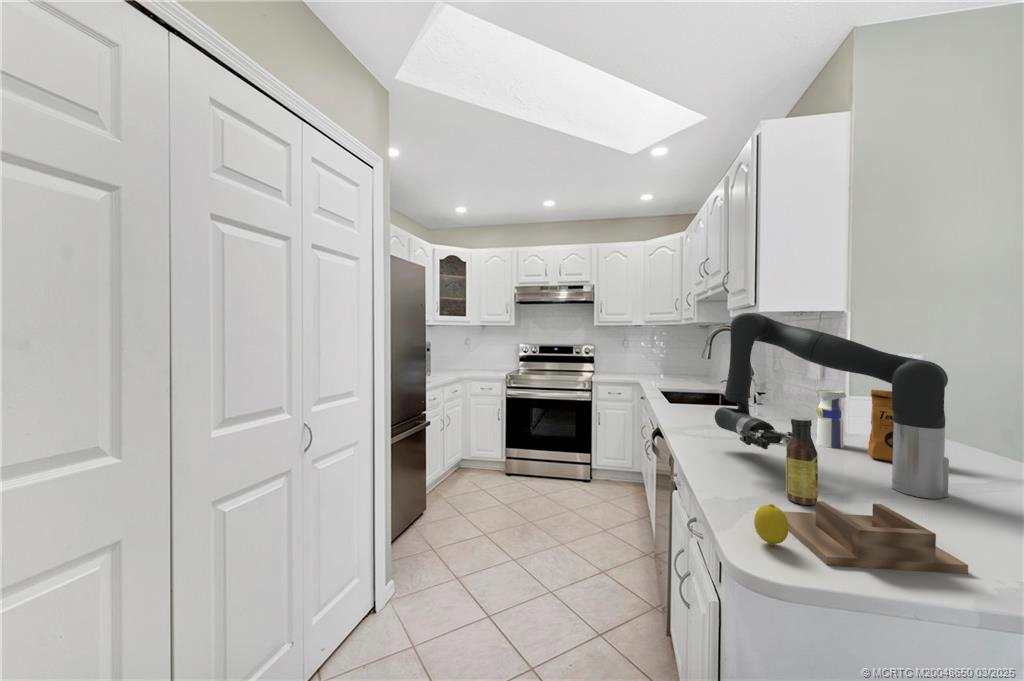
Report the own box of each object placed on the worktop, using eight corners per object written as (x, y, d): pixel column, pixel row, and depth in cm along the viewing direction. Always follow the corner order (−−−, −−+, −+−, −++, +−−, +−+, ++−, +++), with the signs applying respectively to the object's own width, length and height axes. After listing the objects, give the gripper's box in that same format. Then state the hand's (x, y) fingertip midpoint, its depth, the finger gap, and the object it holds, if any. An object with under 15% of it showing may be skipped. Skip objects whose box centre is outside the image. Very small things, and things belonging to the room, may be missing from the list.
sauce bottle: (823, 507, 94) (824, 422, 93) (793, 505, 95) (794, 421, 95) (808, 496, 100) (810, 416, 100) (780, 494, 102) (781, 415, 101)
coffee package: (923, 469, 119) (925, 394, 118) (867, 460, 128) (868, 390, 127) (922, 461, 126) (924, 391, 126) (869, 453, 135) (870, 387, 134)
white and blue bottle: (823, 448, 140) (825, 376, 140) (810, 441, 149) (811, 373, 148) (850, 449, 139) (852, 376, 138) (835, 442, 147) (836, 373, 147)
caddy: (884, 523, 87) (884, 492, 86) (968, 573, 69) (969, 535, 69) (773, 517, 89) (774, 488, 89) (826, 565, 71) (827, 528, 71)
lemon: (747, 538, 81) (748, 498, 80) (773, 537, 81) (774, 497, 81) (767, 553, 75) (768, 511, 75) (795, 552, 76) (796, 509, 75)
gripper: (729, 417, 122) (755, 431, 106) (780, 418, 120) (814, 432, 104) (729, 442, 122) (754, 459, 106) (780, 443, 121) (813, 461, 105)
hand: (784, 446), depth 105 cm, fingers open, 8 cm apart
